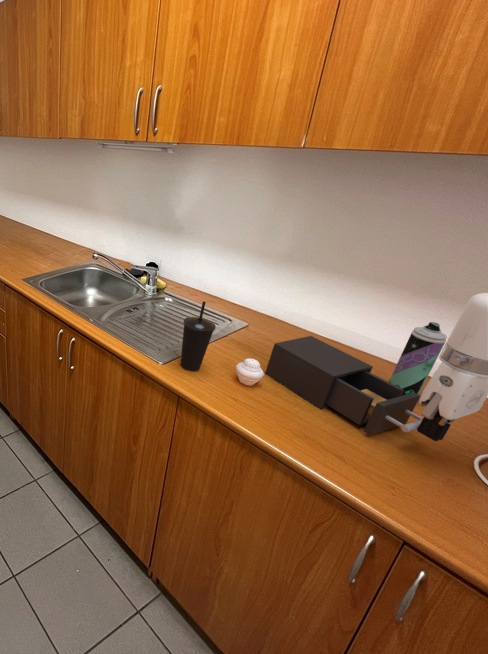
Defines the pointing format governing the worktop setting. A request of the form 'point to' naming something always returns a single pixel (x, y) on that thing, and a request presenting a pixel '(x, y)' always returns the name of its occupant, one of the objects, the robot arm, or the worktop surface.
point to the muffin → (249, 371)
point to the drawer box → (311, 367)
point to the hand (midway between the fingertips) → (429, 435)
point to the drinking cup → (195, 340)
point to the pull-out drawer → (357, 403)
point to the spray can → (418, 358)
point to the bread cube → (375, 401)
